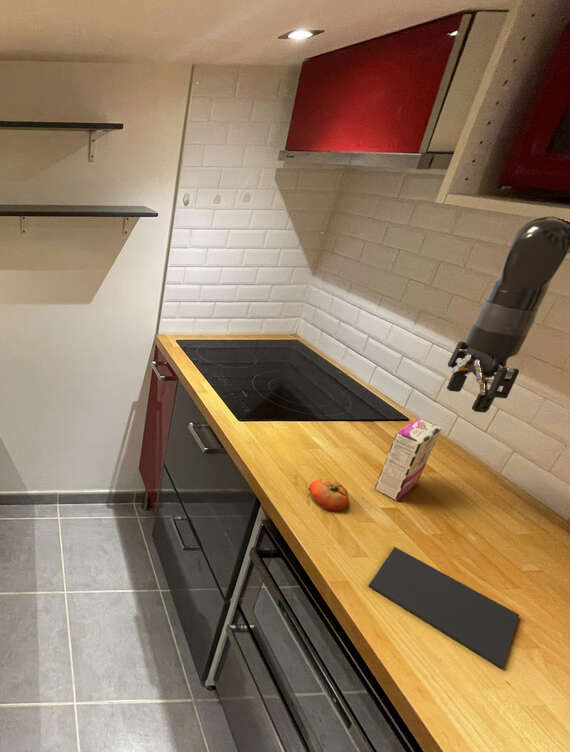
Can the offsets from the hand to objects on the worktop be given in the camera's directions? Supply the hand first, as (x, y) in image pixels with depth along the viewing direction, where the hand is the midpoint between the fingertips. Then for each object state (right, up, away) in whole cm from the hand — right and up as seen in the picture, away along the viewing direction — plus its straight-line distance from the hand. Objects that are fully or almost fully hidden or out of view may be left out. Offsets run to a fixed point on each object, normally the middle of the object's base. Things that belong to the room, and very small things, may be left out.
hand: (465, 400), depth 91 cm
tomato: (-21, -24, +11) cm, 34 cm away
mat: (-16, -34, -12) cm, 40 cm away
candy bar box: (-2, -22, +15) cm, 27 cm away
